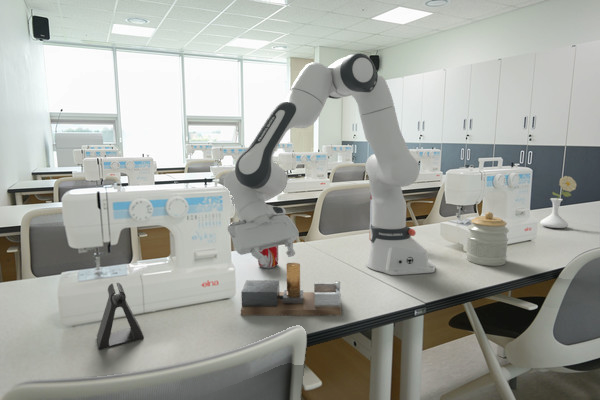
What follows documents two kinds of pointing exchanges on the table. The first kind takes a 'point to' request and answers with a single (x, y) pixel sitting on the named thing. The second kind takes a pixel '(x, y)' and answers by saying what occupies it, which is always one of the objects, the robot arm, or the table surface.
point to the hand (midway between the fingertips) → (279, 259)
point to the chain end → (293, 285)
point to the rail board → (293, 308)
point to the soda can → (270, 257)
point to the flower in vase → (554, 218)
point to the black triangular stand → (104, 333)
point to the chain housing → (260, 293)
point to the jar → (487, 240)
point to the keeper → (327, 294)
